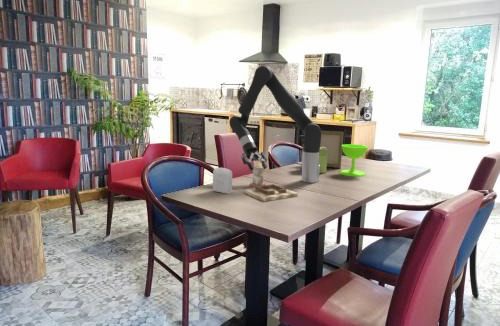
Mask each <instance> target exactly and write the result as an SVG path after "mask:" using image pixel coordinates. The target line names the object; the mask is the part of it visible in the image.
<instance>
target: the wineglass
mask: <svg viewBox="0 0 500 326" xmlns="http://www.w3.org/2000/svg"><path fill="white" fill-rule="evenodd" d="M368 147H369V146H367V145H362V144H354V143H352V144H350V143H348V144H346V143H345V144H343V145H342V154H344V155H345V156H346V157H347V158H349V159H351V168H350V169H343V170H341V171H340V172H339V174H340V175H343V176H346V177H357V178H358V177H364V176H365V177H366V173H365V172H364V171H361V170H357V169H355V166H356V165H355V164H356V159H359V158H362V157H363V156H365V155H366V153H367V151H368Z"/></svg>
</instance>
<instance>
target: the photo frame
mask: <svg viewBox="0 0 500 326" xmlns="http://www.w3.org/2000/svg"><path fill="white" fill-rule="evenodd" d="M343 141H344V131H337V130H336V131H335V130H321V145H320V147H325V148H327V149H328V155H327V168H336V169H337V168H339V169H341V168H342V157H343V150H342V145H344V143H343Z"/></svg>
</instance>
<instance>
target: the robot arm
mask: <svg viewBox="0 0 500 326" xmlns="http://www.w3.org/2000/svg"><path fill="white" fill-rule="evenodd" d="M264 86H265V87H267V89H269V91H270V92H271V94H272V96H273V98H274V99H275V101H276V103H277V105H279V107H280V108H281V109H282V110H283V111H284V113H285V114H286V115H287V116H288V117H289V118H290V119H291V120H292V121H294V122H295V124H296V125H297V126H298V127H299V129H300V131H301V132H302V134H303V135H304V138H303V139H304V140H303V146H302V147H303V161H302V160H301V164H302V170H301V181H302V182H303V183H310V184H311V183H312V184H313V183H318V182H320V173H319V171H320V165H319V149H320V145H321V131H322V129H321V127H320V126H319V125H318V124H316V123H315V122H314V121H312V119H310V118H309V116H308V115H307V114H306V113H305V111H304V109H303V108H302V106H301V104H300V103H299V101H298V100H297V99H296V97H294V95H293V94H292V93H291V91H289V89H287V88H286V86H285V85H284V84H283V83H282V82H281V81H280V80H279V79H278V77H277V75H276V74H275V72H274V71H273V70H272V68H271V67H270V66H269V65H266V64H263V65H259V66H258V67H257V68H256V69H255V71H254V75H253V78H252V81H251V84H250V86H249V88H248V91H247V92H246V94H245V96H244V98H243V99H242V101H241V103H240V105H239V107H238V113H239V114H240V116H237V115H234V116H231V117H230V118H229V123H228V124H229V127H230V129H231V130H232V131H233V132H234V134H235V135H236V136H237V137H238V138H237V139H238V141H239V143H240V146H241V148H242V151H243V153H242V154H241V155H240V157H241V160H242V163H243V165H246V166H247V167H248V168H249V170H250V171H253V169H254V168H253V167H254V166H253V164H252V162H254V161H256V162H259V163H261V167H263V170H266V169H267V168H268V165H267V161H268V158H267V156H266V154H265V152H264V151H261V152H259V150H258V148H257V145H256V143H255V141H254V139H253V137H252V135H251V133H250V132H249V129H247V126H248V122H249V120H250V115H251V112H252V110H253V109H254V107H255V105H256V102H257V100H258V97H259V95H260V93H261V91H262V90H263V88H264Z"/></svg>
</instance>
